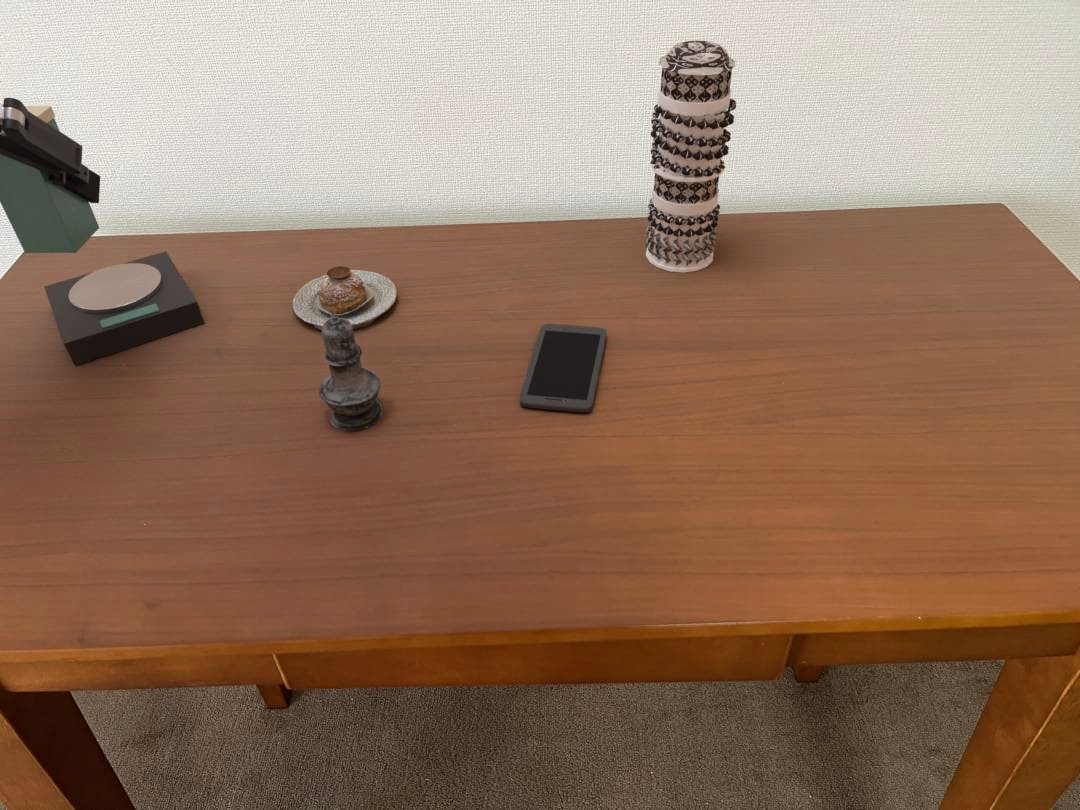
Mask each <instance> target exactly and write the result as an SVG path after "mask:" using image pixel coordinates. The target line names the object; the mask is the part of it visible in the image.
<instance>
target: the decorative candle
mask: <svg viewBox="0 0 1080 810" xmlns="http://www.w3.org/2000/svg"><path fill="white" fill-rule="evenodd" d="M658 65H660V66H661V77H660V86H659V89H658V97H657V98H658V100H657V104H656V105H654V107H653V110H654V111H653V112H652V114H651V115H652V118H651V120H650V123H651V125H652V126H651V129H652V130H651V131H650V137H652V138H653V139H652V143H651V147H652V148H651V149H650V154H651V160H650V163H649V164H650V165H651V169H652V170H653V172H654V181H653V183H654V184H653V185H652V191H651V198H650V200H649V203H648V206H647V208H648V210H649V212H648V214H649V215H648V216H647V221H648V223H649V224H648V225H647V228H646V231H645V233H646V236H647V238H646V240H645V246H646V252H645V257H646V259H647V261H648V262H649V263H650V264H651V265H652V266H654V267H655V268H657V269H661V270H664V271H667V272H671V273H683V274H684V273H692V272H698V271H701V270H703V269H705V268H707V267H709V266H710V265H711V263H712V262H713V261H714V252H715V251H716V247H715V246H716V242H715V241H716V240H717V236H716V235H717V234H718V231H717V229H715V228H717V227H718V222H719V216H718V215H720V209H721V205H720V204H719V203H718V202H719V201H718V200H719V191H720V189H719V181H720V176H721V175H722V174H723V173H725V169H726V166H725V161H724V160H723V159H722V158H723V157H725V156H727V155H728V154H729V150H730V148H729V146H728V145H727V144H726V143H728V142H730V141H731V138H732V137H731V132H730V131H729V130H727V128H728V127H729V126H731V125H733V124H734V123H735V116H734V114H733V113H731V112H732V111H734V110H736V108H737V101H736V100H735V99H734V98H731V95H732V89H731V81H732V73H733V69H734V68H735V67H736V60H735V59H733V58H732V57H731V56H729V54H728V51H727V49H726V48H725V47H723V46H722V45H721V44H718V43H716V42H713V41H708V40H686V41H683V42H679V43H676V44H675V45H674V46H672V47H671V48H669V51H668V52H667V54H665V55H664V56H662V57H660V58H659V62H658Z"/></svg>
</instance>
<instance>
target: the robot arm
mask: <svg viewBox="0 0 1080 810" xmlns="http://www.w3.org/2000/svg"><path fill="white" fill-rule="evenodd" d="M25 106H26V105H25V104H23V102H22V101H21V100H19V99H17V98H15V97H4V98H3V103H1V104H0V154H1V155H3V156H6V157H8V158H11V159H13V160H16V161H18V162H21V163H23V164H26V165H28V166H30V167H33V168H35V169H38V170H40V171H43V172H45V173H48V174H49V180H51V181H52V184H55V185H60V186H62V187H64V188H65V189H67V190H69V191H71V192H73V193H74V194H76V195H78V196H80V197H82V198H83V199H85V200H87V201H89V203H90V204H100V192H101V191H100V190H101V175H99V174H97V173H96V172H95V171H93V170H91V169H89V167H88V166H86V165H84V164H83V163H82V162H83V145H81V143H79V142H77V141H75V140H74V139H72V138H71V137H69V136H67V134H64V133H63V132H61V131H60V130H59V131H58V130H57V129H55V128H54V127H52V126H51V125H49V124H47V123H46V122H44V121H43V120H41V119H40V118H38V117H37V116H35V115H34V114H32V113H30V112H29V111H28V110H27V109H26V107H25Z"/></svg>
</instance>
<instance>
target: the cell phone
mask: <svg viewBox="0 0 1080 810" xmlns="http://www.w3.org/2000/svg"><path fill="white" fill-rule="evenodd" d="M606 342H607V329H606V328H604V327H599V326H588V325H587V326H586V325H575V324H574V325H572V324H563V323H562V324H561V323H544V324H541V326H540V329H539V332H538V336H537V338H536V341H535V344H534V348H533V351H532V354H531V357H530V361H529V365H528V368H527V371H526V375H525V378H524V381H523V384H522V386H521V387H522V388H521V391H520V395H519V405H520V406H522V407H524V408H529V409H539V410H550V411H560V412H572V413H582V414H583V413H590V412H591V411H592V410H593V406H594V402H595V399H596V393H597V389H598V383H599V377H600V373H601V368H602V363H603V358H604V357H603V356H604V352H605V347H606Z"/></svg>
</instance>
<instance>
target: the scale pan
mask: <svg viewBox="0 0 1080 810" xmlns="http://www.w3.org/2000/svg"><path fill="white" fill-rule="evenodd" d="M92 272H93V273H92ZM92 272H89V273H90V274H89V273H88V274H89V275H87V276H85V277H83V278H82V279H80V280H79V281H78V282H77V283H75V284H74V286H73V287H72V288H71V290H70V292H69V300H70V303H71V304H72V306H73V307H74V308H75V309H77V310H79V311H81V312H85V313H92V314H104V313H112V312H117V311H122V310H125V309H128V308H131V307H134V306H136V305H139V304H141V303H143V302H144V301H146V300H148V299H149V298H151V297H152V296H153V295H154V294H156V293H157V291H158V290H159V289H160V287H161V285H162V277H161V274H160V272H159V271H158V270H157V269H156V268H154V267H153V266H150V265H146V264H139V263H128V264H123V263H120V264H114V265H111V266H105V267H104V268H100V269H98V270H94V271H92Z"/></svg>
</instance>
